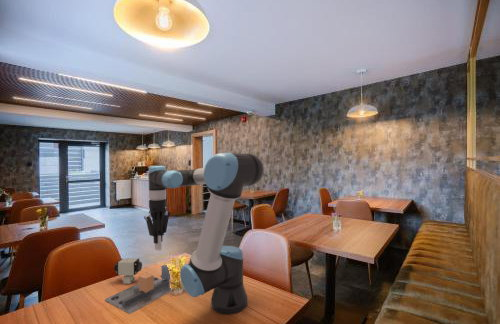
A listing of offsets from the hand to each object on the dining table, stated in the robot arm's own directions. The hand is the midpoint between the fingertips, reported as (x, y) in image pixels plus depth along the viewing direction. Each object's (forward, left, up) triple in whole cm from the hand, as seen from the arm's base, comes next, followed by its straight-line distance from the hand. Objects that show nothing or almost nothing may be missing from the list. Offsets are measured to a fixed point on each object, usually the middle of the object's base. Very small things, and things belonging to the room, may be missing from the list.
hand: (158, 249), depth 114 cm
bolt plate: (+3, +6, -19) cm, 20 cm away
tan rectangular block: (+1, +7, -17) cm, 18 cm away
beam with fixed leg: (+1, +6, -18) cm, 19 cm away
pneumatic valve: (+19, +3, -19) cm, 27 cm away
